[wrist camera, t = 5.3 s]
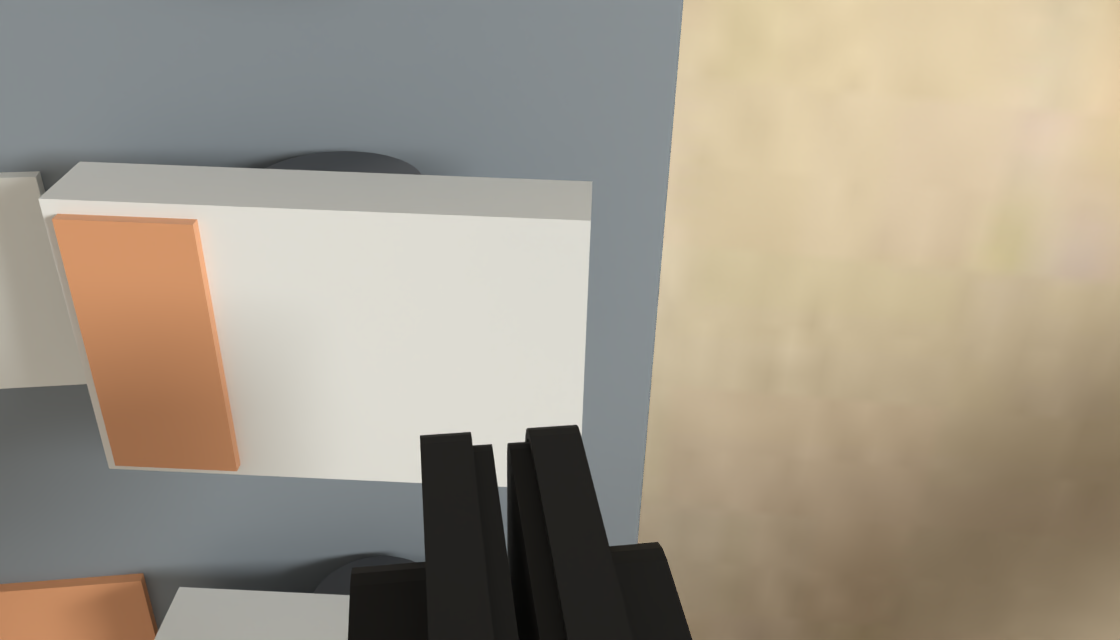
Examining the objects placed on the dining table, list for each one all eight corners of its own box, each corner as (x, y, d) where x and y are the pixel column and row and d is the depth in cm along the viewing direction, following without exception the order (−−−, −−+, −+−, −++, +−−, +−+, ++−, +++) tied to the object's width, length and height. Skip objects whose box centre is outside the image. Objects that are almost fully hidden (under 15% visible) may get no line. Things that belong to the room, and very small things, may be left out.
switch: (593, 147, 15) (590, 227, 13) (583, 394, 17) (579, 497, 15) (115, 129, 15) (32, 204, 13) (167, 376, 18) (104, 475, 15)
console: (667, -711, 14) (760, -845, 10) (592, 608, 27) (622, 748, 23) (-408, -793, 12) (-735, -983, 9) (67, 652, 25) (14, 811, 22)
